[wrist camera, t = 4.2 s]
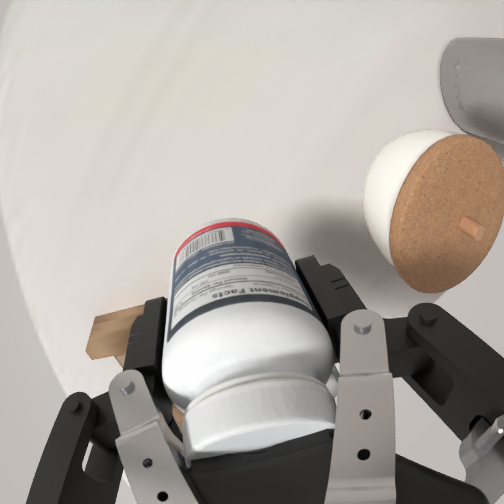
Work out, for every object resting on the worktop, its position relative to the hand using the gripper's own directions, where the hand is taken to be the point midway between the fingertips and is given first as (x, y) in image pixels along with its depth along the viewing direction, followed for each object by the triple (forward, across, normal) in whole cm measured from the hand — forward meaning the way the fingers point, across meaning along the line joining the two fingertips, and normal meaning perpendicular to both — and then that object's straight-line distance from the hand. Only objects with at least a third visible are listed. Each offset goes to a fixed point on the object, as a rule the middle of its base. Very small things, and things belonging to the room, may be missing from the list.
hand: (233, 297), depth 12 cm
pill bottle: (+2, 0, 0) cm, 2 cm away
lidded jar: (+11, -14, +2) cm, 18 cm away
